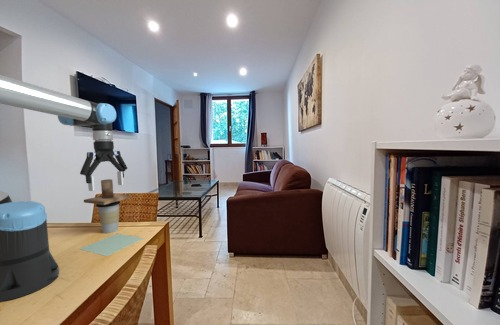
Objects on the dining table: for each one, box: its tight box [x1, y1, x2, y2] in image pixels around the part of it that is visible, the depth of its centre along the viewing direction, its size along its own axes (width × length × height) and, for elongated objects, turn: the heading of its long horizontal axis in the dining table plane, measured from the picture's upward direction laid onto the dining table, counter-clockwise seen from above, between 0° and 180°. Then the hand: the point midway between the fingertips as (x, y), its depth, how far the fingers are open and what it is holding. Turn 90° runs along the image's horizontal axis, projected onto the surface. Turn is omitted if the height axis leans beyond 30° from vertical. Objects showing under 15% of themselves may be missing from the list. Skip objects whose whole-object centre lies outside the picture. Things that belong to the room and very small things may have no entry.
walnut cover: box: [83, 178, 132, 205], centre depth 102 cm, size 13×13×9 cm
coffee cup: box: [95, 201, 121, 234], centre depth 103 cm, size 9×9×15 cm
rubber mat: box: [79, 233, 145, 257], centre depth 90 cm, size 16×16×1 cm
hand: (107, 187), depth 102 cm, fingers open, 13 cm apart
